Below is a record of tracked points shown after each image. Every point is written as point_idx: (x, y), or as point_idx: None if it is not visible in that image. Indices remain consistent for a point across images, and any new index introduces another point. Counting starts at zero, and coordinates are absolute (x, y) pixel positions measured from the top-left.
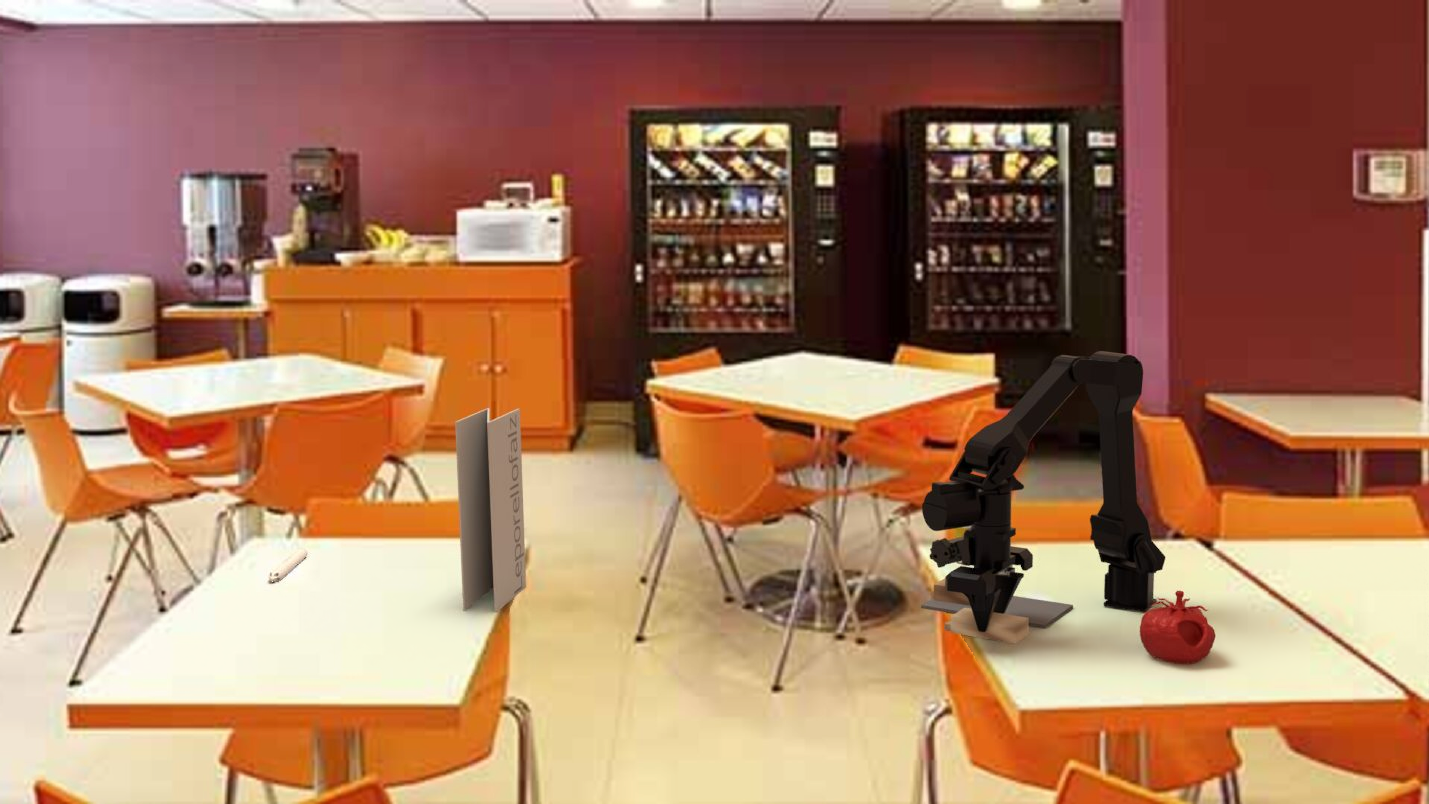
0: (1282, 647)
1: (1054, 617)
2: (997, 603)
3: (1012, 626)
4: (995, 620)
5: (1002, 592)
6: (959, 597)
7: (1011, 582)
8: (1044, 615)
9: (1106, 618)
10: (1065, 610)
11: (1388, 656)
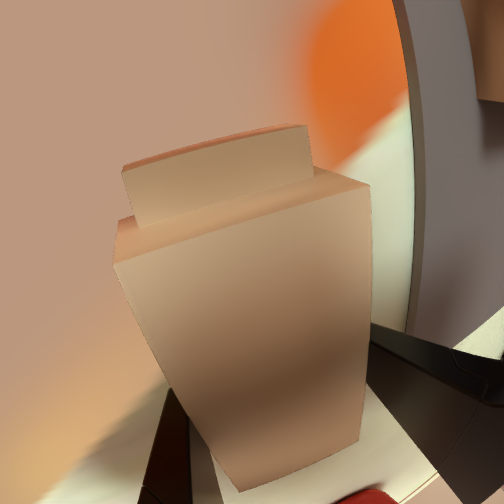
0: (410, 485)
1: (459, 341)
2: (399, 391)
3: (236, 487)
4: (256, 439)
5: (439, 439)
6: (489, 32)
7: (465, 488)
8: (467, 317)
9: None
10: (498, 309)
11: (409, 498)
